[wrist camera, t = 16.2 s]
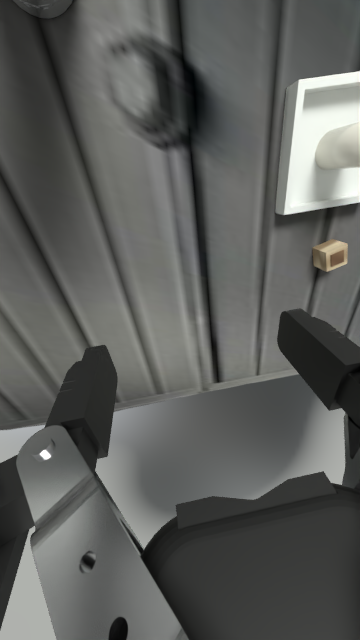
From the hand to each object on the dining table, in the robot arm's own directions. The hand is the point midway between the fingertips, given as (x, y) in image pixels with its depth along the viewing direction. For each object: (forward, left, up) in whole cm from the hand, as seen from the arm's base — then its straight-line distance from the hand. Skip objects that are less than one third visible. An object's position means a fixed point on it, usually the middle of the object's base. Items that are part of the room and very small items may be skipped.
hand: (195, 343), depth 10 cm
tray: (-7, +29, -33) cm, 45 cm away
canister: (-7, +29, -32) cm, 44 cm away
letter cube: (+10, +32, -33) cm, 47 cm away
